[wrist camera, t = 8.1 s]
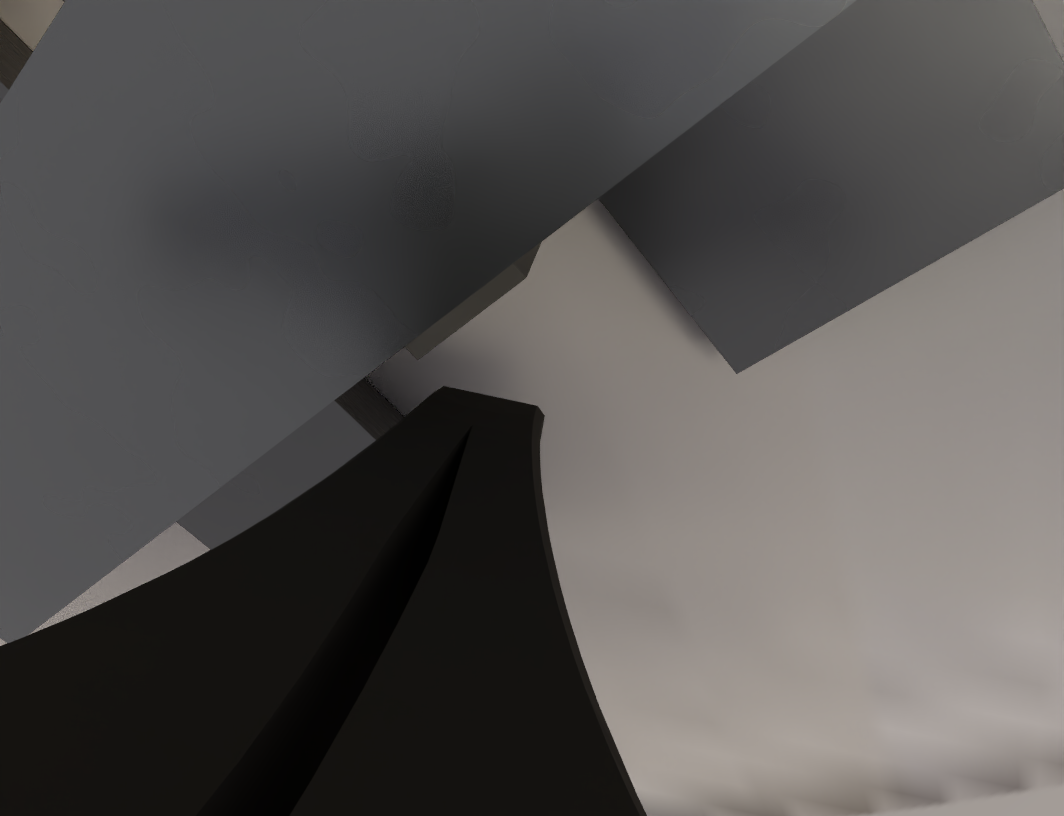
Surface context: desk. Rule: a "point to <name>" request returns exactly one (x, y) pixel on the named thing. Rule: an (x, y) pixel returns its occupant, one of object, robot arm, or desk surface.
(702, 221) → the housing
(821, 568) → the desk surface
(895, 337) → the desk surface
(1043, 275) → the desk surface
